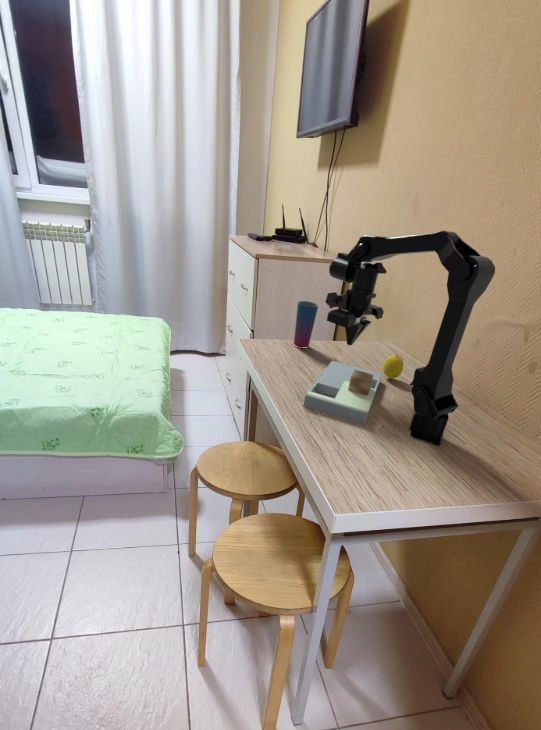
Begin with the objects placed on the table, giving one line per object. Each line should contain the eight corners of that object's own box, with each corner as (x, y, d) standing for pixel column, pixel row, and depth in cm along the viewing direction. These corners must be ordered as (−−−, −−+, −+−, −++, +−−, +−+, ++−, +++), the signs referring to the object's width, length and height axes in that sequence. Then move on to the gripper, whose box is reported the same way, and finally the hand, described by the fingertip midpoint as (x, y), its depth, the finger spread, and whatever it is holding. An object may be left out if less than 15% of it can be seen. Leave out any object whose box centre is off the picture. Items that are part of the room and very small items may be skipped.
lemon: (396, 376, 116) (403, 352, 113) (400, 384, 111) (408, 359, 108) (379, 373, 116) (385, 349, 113) (382, 381, 111) (389, 356, 108)
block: (370, 388, 100) (373, 374, 98) (367, 395, 96) (370, 381, 94) (351, 382, 102) (354, 369, 100) (347, 390, 97) (351, 376, 96)
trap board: (379, 381, 111) (382, 372, 110) (364, 424, 88) (367, 413, 86) (330, 368, 115) (332, 359, 114) (303, 405, 92) (305, 394, 91)
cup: (287, 342, 131) (294, 300, 125) (304, 342, 134) (311, 300, 128) (297, 350, 126) (304, 306, 120) (314, 349, 129) (322, 306, 123)
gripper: (355, 278, 107) (343, 330, 113) (315, 282, 94) (304, 340, 100) (390, 288, 100) (376, 342, 107) (353, 294, 87) (339, 355, 94)
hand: (349, 344), depth 102 cm, fingers closed
